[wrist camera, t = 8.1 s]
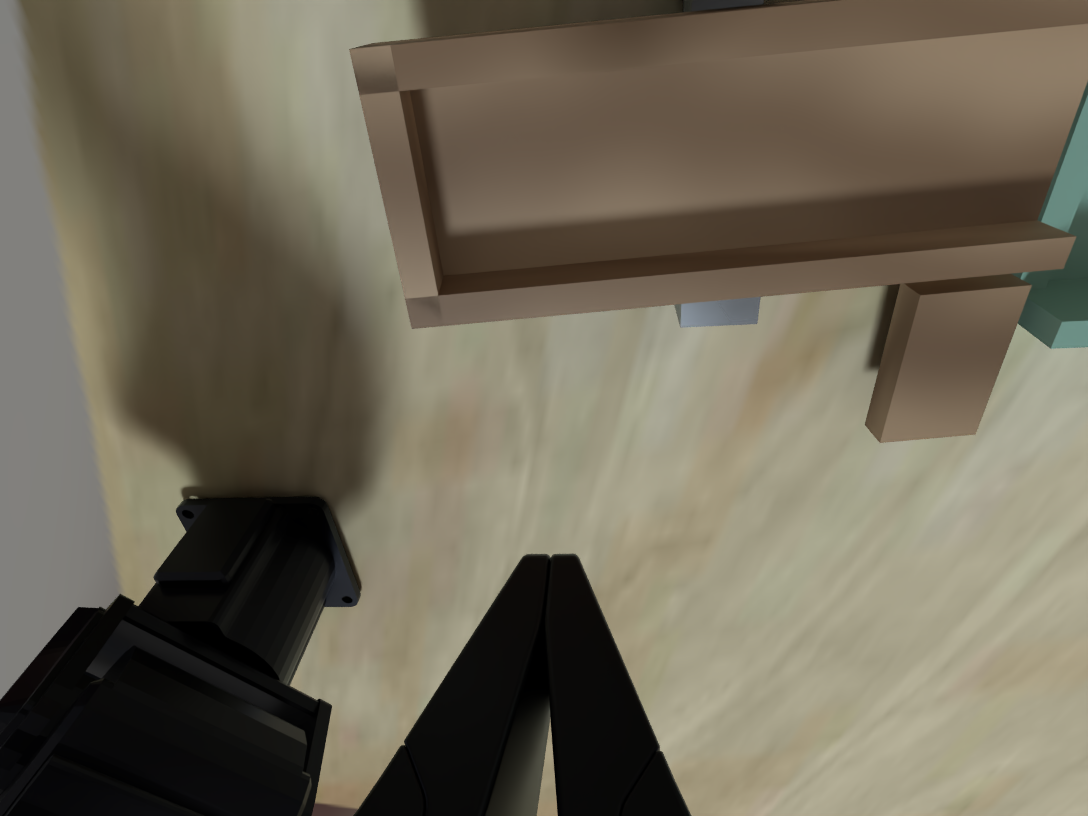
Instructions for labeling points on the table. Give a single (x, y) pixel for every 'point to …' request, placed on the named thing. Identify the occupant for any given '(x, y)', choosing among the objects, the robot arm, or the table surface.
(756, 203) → the chute
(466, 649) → the robot arm
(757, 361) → the table surface
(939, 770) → the table surface
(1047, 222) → the tray
